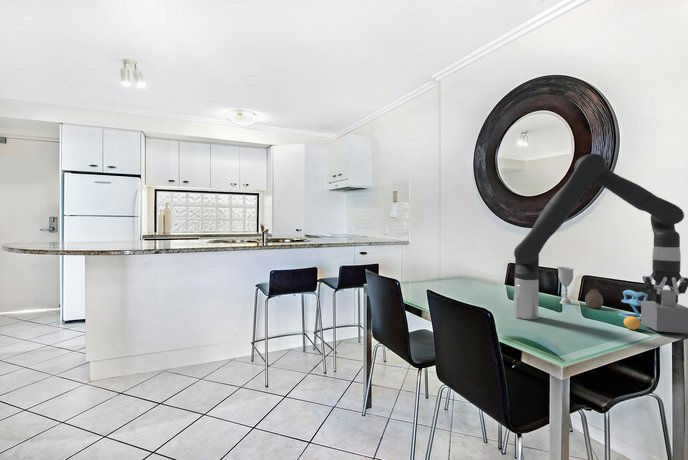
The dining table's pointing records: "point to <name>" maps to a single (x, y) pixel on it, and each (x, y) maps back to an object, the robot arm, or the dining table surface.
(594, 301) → the vase
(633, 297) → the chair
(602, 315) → the dining table surface
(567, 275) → the chalice
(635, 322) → the ball
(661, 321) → the gray block
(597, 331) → the dining table surface
